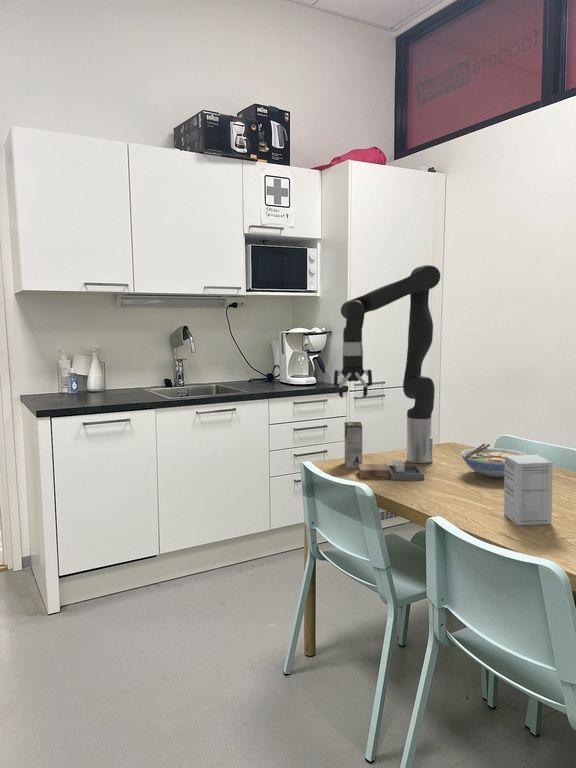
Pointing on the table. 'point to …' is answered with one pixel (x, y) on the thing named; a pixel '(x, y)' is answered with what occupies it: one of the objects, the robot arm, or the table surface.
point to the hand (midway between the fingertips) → (352, 397)
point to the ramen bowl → (488, 460)
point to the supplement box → (528, 490)
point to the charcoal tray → (407, 473)
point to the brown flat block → (373, 471)
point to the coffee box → (353, 444)
